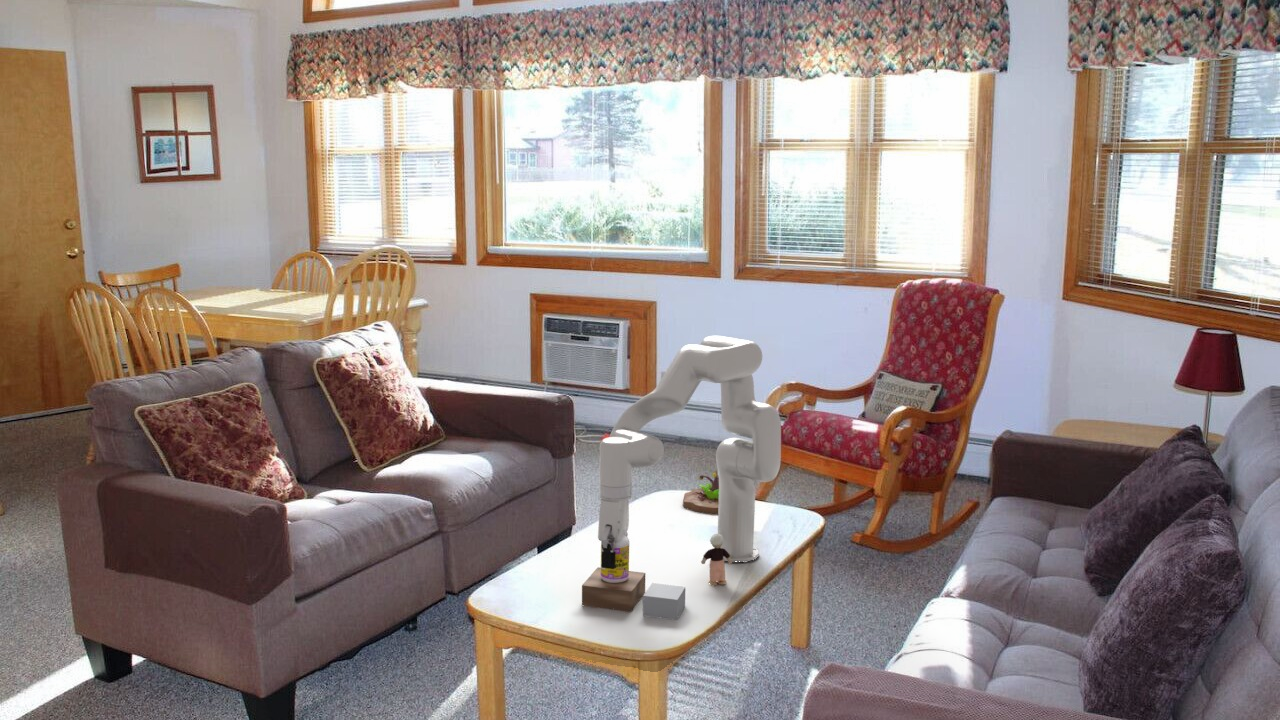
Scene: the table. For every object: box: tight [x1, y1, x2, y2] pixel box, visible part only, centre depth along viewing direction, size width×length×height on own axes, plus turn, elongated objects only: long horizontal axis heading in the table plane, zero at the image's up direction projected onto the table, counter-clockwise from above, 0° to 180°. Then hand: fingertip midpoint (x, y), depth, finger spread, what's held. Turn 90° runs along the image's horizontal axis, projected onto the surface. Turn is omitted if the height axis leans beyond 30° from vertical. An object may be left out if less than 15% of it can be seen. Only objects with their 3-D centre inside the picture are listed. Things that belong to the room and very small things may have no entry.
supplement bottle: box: [600, 527, 630, 583], centre depth 249 cm, size 7×7×13 cm
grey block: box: [642, 582, 686, 621], centre depth 244 cm, size 8×8×5 cm
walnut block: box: [581, 567, 646, 613], centre depth 250 cm, size 12×12×5 cm
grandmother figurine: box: [700, 533, 733, 586], centre depth 260 cm, size 8×4×13 cm, turn 111°
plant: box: [682, 470, 719, 515], centre depth 324 cm, size 20×20×11 cm
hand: (614, 560), depth 249 cm, fingers open, 9 cm apart
